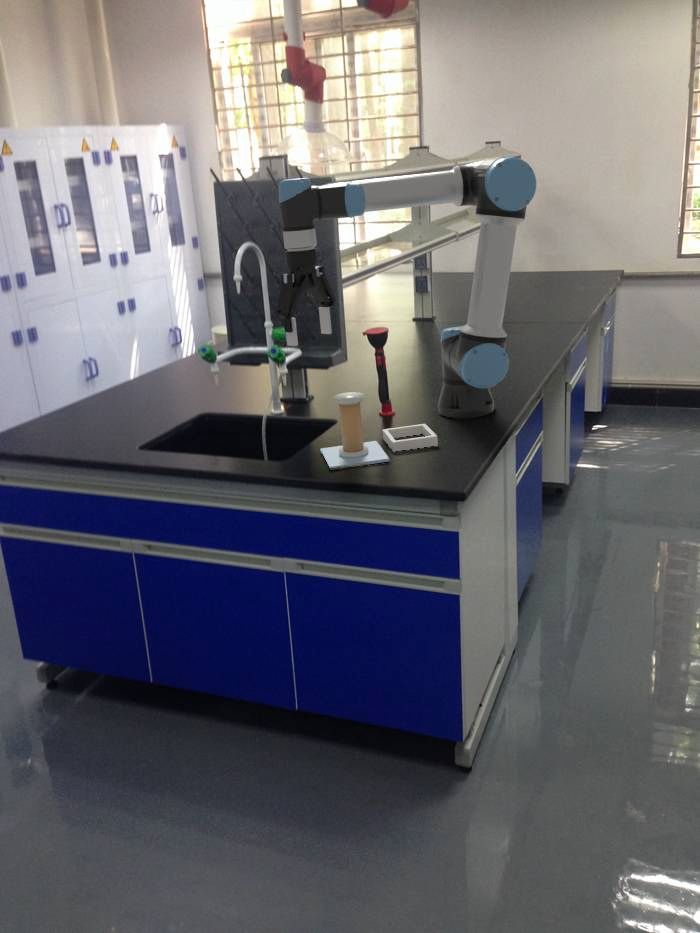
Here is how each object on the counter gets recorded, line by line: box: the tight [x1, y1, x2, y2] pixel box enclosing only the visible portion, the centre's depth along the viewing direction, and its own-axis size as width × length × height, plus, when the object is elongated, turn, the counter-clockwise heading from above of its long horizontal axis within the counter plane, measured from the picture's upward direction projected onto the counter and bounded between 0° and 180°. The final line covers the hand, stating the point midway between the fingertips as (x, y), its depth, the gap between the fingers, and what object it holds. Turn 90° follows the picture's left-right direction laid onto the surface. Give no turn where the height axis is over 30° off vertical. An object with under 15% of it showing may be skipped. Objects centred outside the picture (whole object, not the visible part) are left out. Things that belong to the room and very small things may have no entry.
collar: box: [382, 423, 439, 453], centre depth 205 cm, size 11×11×2 cm
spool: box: [333, 391, 368, 458], centre depth 196 cm, size 7×7×14 cm
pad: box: [319, 440, 390, 469], centre depth 198 cm, size 14×14×1 cm
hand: (310, 339), depth 200 cm, fingers open, 13 cm apart
